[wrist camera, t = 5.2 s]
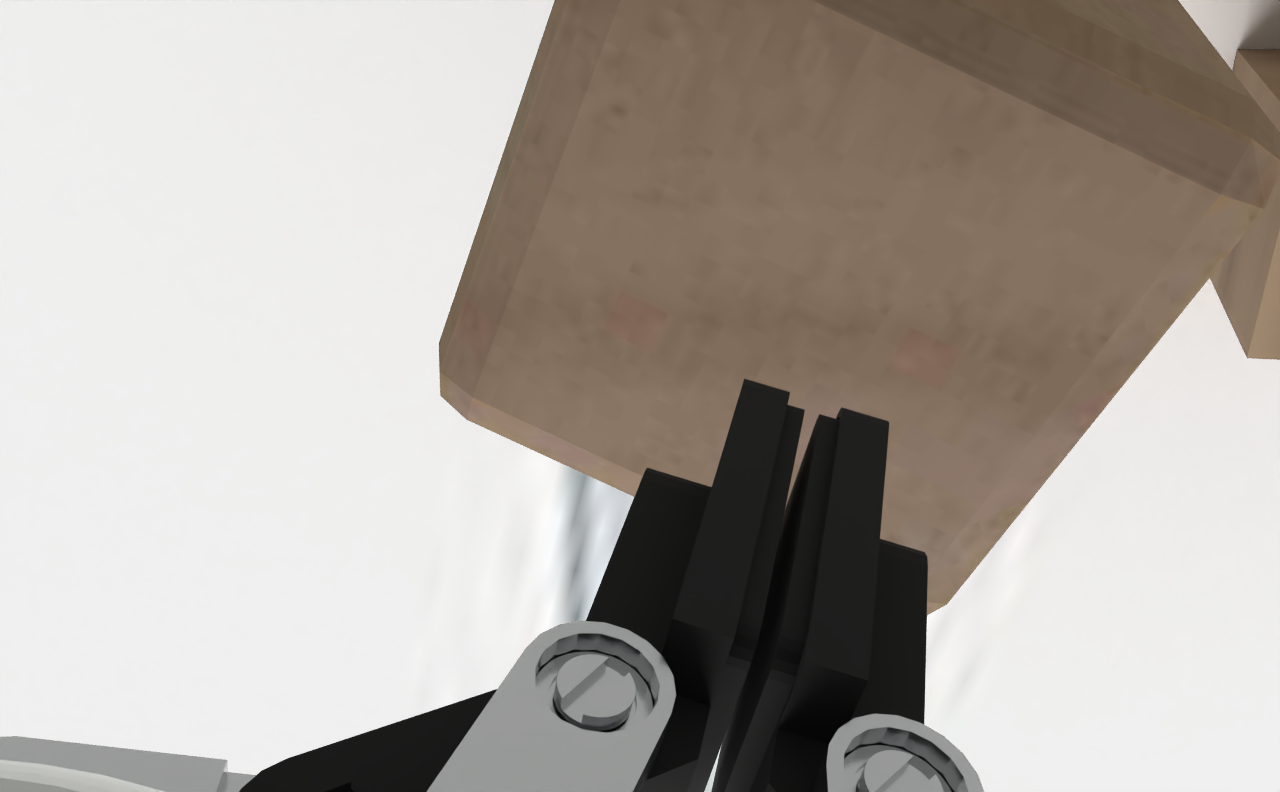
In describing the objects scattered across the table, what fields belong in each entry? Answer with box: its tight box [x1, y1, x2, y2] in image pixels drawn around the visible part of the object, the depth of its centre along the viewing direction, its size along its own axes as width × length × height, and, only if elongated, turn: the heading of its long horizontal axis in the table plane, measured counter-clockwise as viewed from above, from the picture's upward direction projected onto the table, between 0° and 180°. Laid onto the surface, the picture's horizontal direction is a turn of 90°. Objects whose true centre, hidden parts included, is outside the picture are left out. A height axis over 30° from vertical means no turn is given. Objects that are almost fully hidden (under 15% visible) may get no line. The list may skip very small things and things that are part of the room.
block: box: [439, 0, 1280, 615], centre depth 25 cm, size 10×10×20 cm
